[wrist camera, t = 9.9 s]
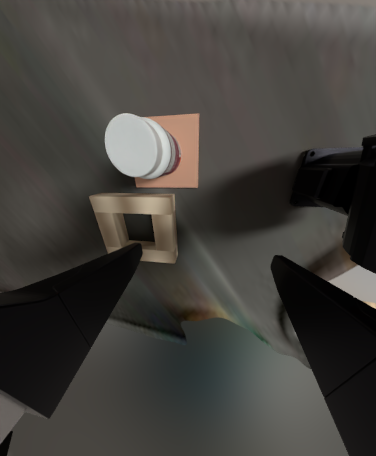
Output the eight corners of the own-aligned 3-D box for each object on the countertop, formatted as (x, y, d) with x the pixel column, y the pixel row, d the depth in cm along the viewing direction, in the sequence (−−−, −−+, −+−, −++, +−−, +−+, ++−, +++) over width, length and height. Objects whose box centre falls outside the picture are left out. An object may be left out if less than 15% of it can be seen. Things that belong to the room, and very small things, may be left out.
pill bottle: (144, 168, 18) (98, 170, 11) (150, 126, 16) (99, 93, 9) (176, 180, 18) (154, 191, 11) (187, 140, 16) (169, 120, 9)
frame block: (174, 193, 20) (169, 197, 17) (177, 254, 24) (174, 263, 22) (101, 192, 21) (88, 196, 19) (118, 249, 26) (109, 257, 24)
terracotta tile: (199, 115, 15) (198, 113, 15) (198, 187, 19) (197, 187, 18) (127, 120, 17) (124, 118, 16) (138, 186, 20) (136, 187, 20)
